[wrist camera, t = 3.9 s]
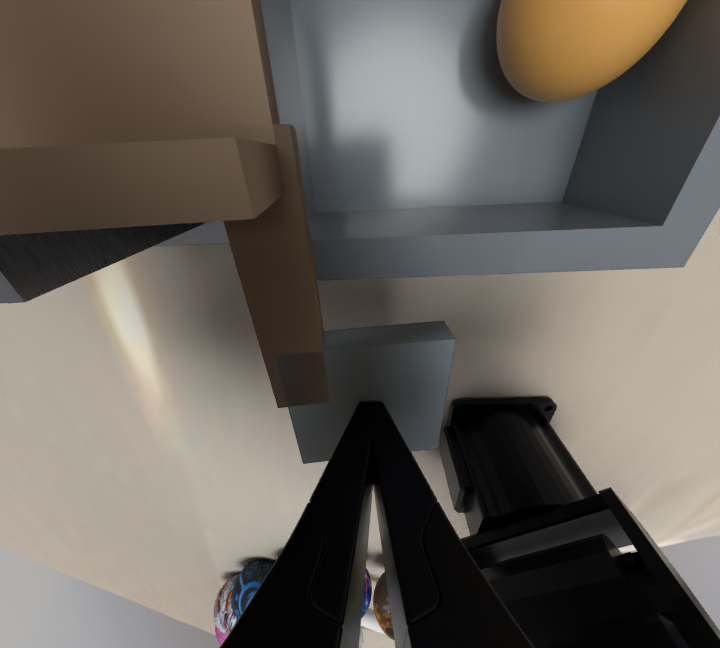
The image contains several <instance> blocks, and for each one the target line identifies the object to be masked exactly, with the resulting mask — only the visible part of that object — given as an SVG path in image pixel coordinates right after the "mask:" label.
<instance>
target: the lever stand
mask: <svg viewBox="0 0 720 648" xmlns="http://www.w3.org/2000/svg"><path fill="white" fill-rule="evenodd" d="M219 243H229V239H228V236H227V232H226V229H225V226H224V222H223V221H214V222H198V223H183V224H167V225H152V226H136V227H121V228H105V229H90V230H74V231H59V232H43V233H28V234H12V235H0V303H20V302H26V301H29V300H31V299H33V298H36V297H38V296H40V295H42V294H45V293H47V292H49V291H52V290H54V289H56V288H58V287H61V286H63V285H65V284H68V283H70V282H72V281H75V280H77V279H79V278H81V277H84V276H86V275H88V274H91V273H93V272H95V271H97V270H100V269H102V268H104V267H107V266H109V265H111V264H113V263H116V262H118V261H120V260H123V259H125V258H127V257H129V256H132V255H134V254H136V253H139V252H141V251H143V250H145V249H148V248H150V247H152V246H170V245H195V244H219Z"/></svg>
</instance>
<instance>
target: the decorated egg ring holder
mask: <svg viewBox="0 0 720 648" xmlns="http://www.w3.org/2000/svg"><path fill="white" fill-rule="evenodd" d="M272 566H273V563H272V562H270V561H267V560H255V561H253V562H251V563H249V564H248V565H247V566H246V567H245V568H244V569H243V570H242V571H241V572H240V574H237V575H235V576H233V577H232V578H230V579H229V580H228V581H227V582H226V583H225V584H224V585H223V587H222V588H221V590H220V591H219V593H218V595H217V598H216V601H215V605H214V621H215V624H216V625H215V632H216V637H217V640H218V642H219V643H220V645H222V643H223V642H224V640H225V639H226V638H227V636H228V635H229V633H230V632H231V630H232V629H233V627H234V626H235V624H236V623H237V621H238V619H239V618H240V616H241V615H242V613H243V612H244V610H245V608H246V607H247V605H248V604H249V602H250V601H251V599H252V597H253V596H254V594H255V593H256V591H257V590H258V588H259V586H260V585H261V583H262V582H263V580H264V579H265V577H266V575H267V574H268V572H269V571H270V569H271V568H272ZM371 595H372V586H371V579H370V575H369V573H368V570H367V569H366V570H365V582H364V593H363V604H362V616H361V627H360V639H359V648H362V645H363V641H364V640H363V631H362V626H363V627H366V628H368V629H371V630H374V631H377V632H380V633H383V634H386V635H387V636H388V637H390V638H391V639H393V640H395V639H394V632H393V625H392V617H391V610H390V603H389V595H388V588H387V581H386V574H385V572H384V573H383V574H382V575H381V577H380V578H379V580H378V582H377V584H376V587H375V590H374V596H373V606H374V609H372V608H369V604H370V601H371Z"/></svg>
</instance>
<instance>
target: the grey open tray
mask: <svg viewBox="0 0 720 648" xmlns="http://www.w3.org/2000/svg"><path fill="white" fill-rule="evenodd" d="M260 1H261V7H262V13H263V20H264V26H265V32H266V38H267V45H268V51H269V57H270V63H271V69H272V76H273V82H274V88H275V94H276V101H277V107H278V113H279V119H280V124H291V125H292V126H293V127H295V128H296V134H297V141H298V148H299V155H300V163H301V170H302V177H303V185H304V192H305V199H306V206H307V214H308V221H309V228H310V235H311V243H312V250H313V257H314V265H315V272H316V279H317V280H343V279H371V278H399V277H427V276H455V275H483V274H510V273H538V272H566V271H594V270H622V269H650V268H678V267H684V266H685V264H686V262H687V261H688V259H689V258H690V256H691V254H692V253H693V251H694V249H695V248H696V246H697V244H698V243H699V241H700V239H701V238H702V236H703V234H704V233H705V231H706V229H707V228H708V226H709V224H710V223H711V221H712V219H713V218H714V216H715V214H716V213H717V211H718V209H719V208H720V0H687V2H686V3H685V5H684V6H683V8H682V9H681V11H680V12H679V14H678V15H677V17H676V18H675V20H674V21H673V23H672V24H671V25H670V26H669V28H668V29H667V30H666V31H665V33H664V34H663V35H662V37H661V38H660V39H659V40H658V41H657V42H656V43H655V44H654V45H653V47H652V48H651V49H650V50H649V51H648V52H647V53H646V54H645V55H644V56H643V57H642V58H641V59H640V60H638V61H637V62H636V63H635V64H634V65H633V66H632V67H631V68H629V69H628V70H627V71H626V72H624V73H623V74H622V75H620V76H619V77H618V78H616V79H615V80H613V81H612V82H610V83H609V84H607V85H605V86H603V87H602V88H600V89H598V90H596V91H594V92H592V93H589V94H587V95H585V96H582V97H580V98H576V99H573V100H570V101H564V102H556V103H546V102H538V101H535V100H532V99H529V98H527V97H525V96H523V95H522V94H520V93H519V92H518V91H516V90H515V89H514V88H513V87H512V86H511V84H510V83H509V82H508V80H507V79H506V77H505V75H504V73H503V71H502V68H501V66H500V62H499V58H498V53H497V44H496V32H497V19H498V13H499V8H500V3H501V0H260Z"/></svg>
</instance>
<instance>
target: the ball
mask: <svg viewBox="0 0 720 648" xmlns="http://www.w3.org/2000/svg"><path fill="white" fill-rule="evenodd" d="M686 2H687V0H501V3H500V8H499V13H498V19H497V32H496V44H497V53H498V58H499V62H500V66H501V68H502V71H503V73H504V75H505V77H506V79H507V80H508V82H509V83H510V84H511V86H512V87H513V88H514V89H515V90H516V91H518V92H519V93H520V94H522V95H523V96H525V97H527V98H529V99H532V100H535V101H538V102H546V103H556V102H564V101H570V100H573V99H576V98H580V97H582V96H585V95H587V94H589V93H592V92H594V91H596V90H598V89H600V88H602V87H603V86H605V85H607V84H609V83H610V82H612V81H613V80H615V79H616V78H618V77H619V76H620V75H622V74H623V73H624V72H626V71H627V70H628V69H629V68H631V67H632V66H633V65H634V64H635V63H636V62H637V61H638V60H640V59H641V58H642V57H643V56H644V55H645V54H646V53H647V52H648V51H649V50H650V49H651V48H652V47H653V45H654V44H655V43H656V42H657V41H658V40H659V39H660V38H661V37H662V35H663V34H664V33H665V31H666V30H667V29H668V28H669V26H670V25H671V24H672V23H673V21H674V20H675V18H676V17H677V15H678V14H679V12H680V11H681V9H682V8H683V6H684V5H685V3H686Z"/></svg>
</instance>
